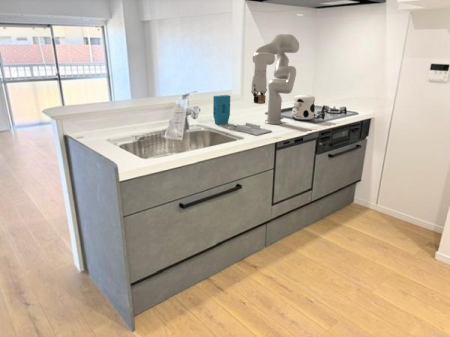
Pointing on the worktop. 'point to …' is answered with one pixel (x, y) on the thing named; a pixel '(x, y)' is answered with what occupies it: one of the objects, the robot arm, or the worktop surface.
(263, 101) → the walnut block
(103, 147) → the worktop surface
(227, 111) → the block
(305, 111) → the milk container
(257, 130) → the tube board
